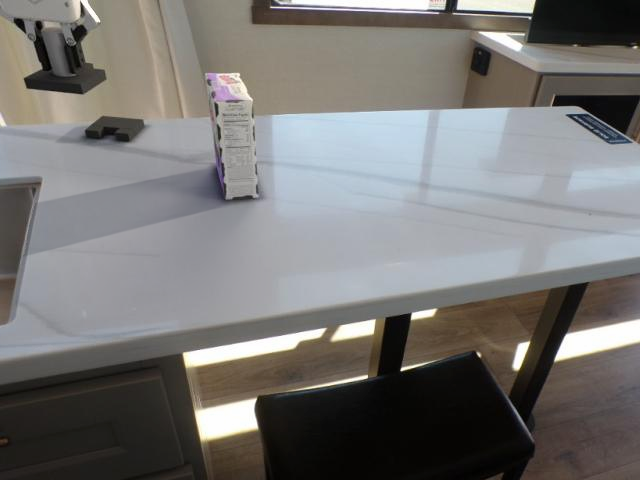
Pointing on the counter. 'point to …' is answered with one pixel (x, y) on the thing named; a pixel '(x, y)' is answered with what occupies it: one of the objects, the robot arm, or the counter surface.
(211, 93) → the candy box
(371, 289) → the counter surface
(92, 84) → the pad
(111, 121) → the notch pad
